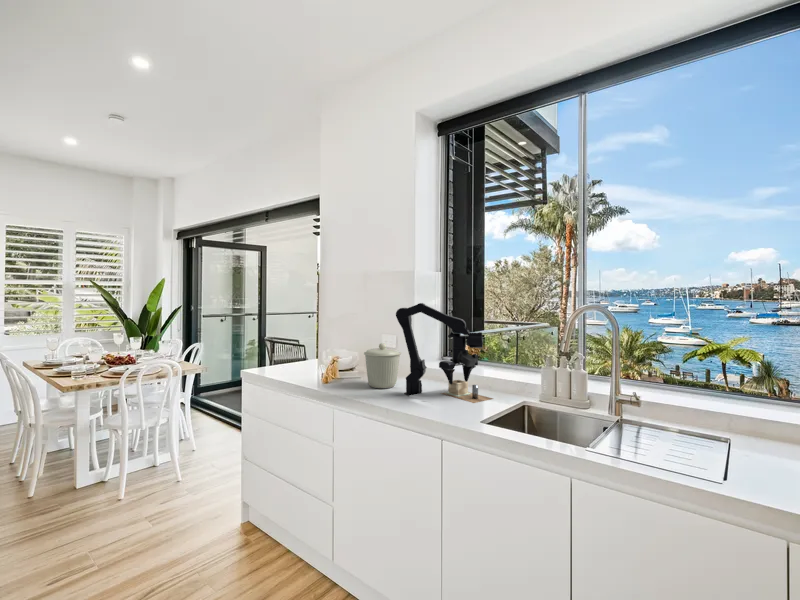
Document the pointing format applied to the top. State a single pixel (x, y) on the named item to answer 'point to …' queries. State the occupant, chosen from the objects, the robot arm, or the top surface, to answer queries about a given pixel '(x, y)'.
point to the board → (468, 397)
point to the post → (474, 391)
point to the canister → (382, 366)
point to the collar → (458, 387)
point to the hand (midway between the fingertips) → (458, 382)
